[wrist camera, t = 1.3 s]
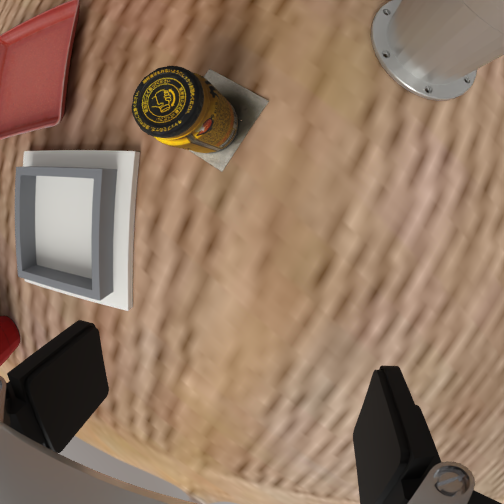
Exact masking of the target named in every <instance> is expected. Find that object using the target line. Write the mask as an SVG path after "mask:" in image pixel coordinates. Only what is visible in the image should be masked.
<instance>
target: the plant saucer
mask: <svg viewBox="0 0 504 504" xmlns="http://www.w3.org/2000/svg"><path fill="white" fill-rule="evenodd" d="M79 7H80V3H79V0H70V1H68V2H65V3H63V4H61V5H59V6H56V7H54V8H52V9H49V10H47V11H45V12H43V13H41V14H39V15H37V16H35V17H33V18H31V19H29V20H27V21H25V22H23V23H21V24H19V25H17V26H16V27H14V28H12V29H10V30H8V31H7V32H5V33H3V34H1V35H0V140H1V139H5V138H8V137H12V136H15V135H19V134H23V133H26V132H30V131H34V130H38V129H43V128H47V127H52V126H55V125H57V124H58V123H60V121H61V120H62V118H63V115H64V112H65V102H66V92H67V83H68V75H69V67H70V60H71V54H72V48H73V43H74V37H75V32H76V27H77V22H78V17H79Z"/></svg>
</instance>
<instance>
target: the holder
mask: <svg viewBox="0 0 504 504" xmlns="http://www.w3.org/2000/svg"><path fill="white" fill-rule="evenodd" d="M139 158H140V152H137V151H109V150H49V151H24V159H23V167H16V183H15V238H16V256H17V268H18V277H21V278H24V279H25V281H26V282H29V283H32V284H35V285H38V286H41V287H44V288H48V289H51V290H54V291H57V292H61V293H64V294H67V295H71V296H74V297H78V298H81V299H85V300H88V301H92V302H96V303H99V304H103V305H107V306H111V307H115V308H118V309H122V310H126V311H129V310H130V309H131V308H132V307H133V241H134V220H135V204H136V190H137V179H138V168H139Z"/></svg>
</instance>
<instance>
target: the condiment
mask: <svg viewBox="0 0 504 504" xmlns="http://www.w3.org/2000/svg"><path fill="white" fill-rule="evenodd" d="M268 102H269V101H267V100H265V99H264V98H262V97H260V96H258V95H257V94H255V93H253V92H251V91H249V90H248V89H246V88H244V87H242V86H240V85H239V84H237V83H235V82H233V81H231V80H229V79H227V78H226V77H224V76H222V75H220V74H218V73H216V72H214V71H212V70H210V69H209V70H208V72H207V73H206V74H205V76H204V77H203V76H201V75H198V74H196V73H192V72H190V71H189V70H186V69H185V68H182V67H178V66H167V67H162V68H158V69H156V70H155V71H153V72H152V73H150V74H149V75H148V76H146V77H145V78H144V79H143V80H142V81H141V83H140V84H139V86H138V87H137V89H136V91H135V93H134V96H133V104H132V113H133V116H134V118H135V121H136V122H137V124H138V125H139V127H140V128H141V129H142V131H144V132H146V133H147V134H148V135H151V136H153V137H155V138H156V139H157V140H158V141H160V142H161V143H164V144H166V145H169V146H173V147H178V148H183V149H187V150H189V151H191V152H192V153H194V154H195V155H197V156H199V157H200V158H202V159H203V160H205V161H206V162H208V163H210V164H211V165H213V166H214V167H216V168H217V169H219V170H220V171H223V170H224V168H225V166H226V165H227V163H228V162H229V160H230V159H231V157H232V156H233V154H234V153H235V151H236V150H237V148H238V147H239V145H240V143H241V142H242V141H243V139H244V137H245V136H246V134H247V133H248V131H249V130H250V128H251V127H252V125H253V124H254V122H255V121H256V120H257V118H258V117H259V115H260V114H261V112H262V110H263V109H264V108H265V106H266V105H267V103H268ZM240 120H242V121H240Z"/></svg>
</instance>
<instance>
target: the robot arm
mask: <svg viewBox="0 0 504 504" xmlns="http://www.w3.org/2000/svg"><path fill="white" fill-rule="evenodd" d="M385 14H386V15H385ZM371 40H372V45H373V49H374V51H375V54H376V56H377V58H378V60H379V62H380V63H381V65H382V67H383V68H384V69H385V70H386V72H387V73H388V74H389V75H390V76H391V77H392V78H393V79H394V80H395V81H396V82H397V83H398V84H399V85H401V86H402V87H404V88H405V89H406V90H408V91H410V92H412V93H414V94H415V95H417V96H420V97H423V98H426V99H430V100H436V101H443V100H450V99H454V98H456V97H458V96H460V95H462V94H464V93H465V92H466V91H467V90H469V88H470V87H471V86H472V84H473V82H474V80H475V77H476V72H477V69H478V68H480V67H482V66H484V65H486V64H488V63H489V62H491V61H493V60H495V59H497V58H499V57H500V56H502V55H504V0H392V1H389V2H387V3H386V4H385V5H383V6H382V7H381V8H380V9H379V11H378V12H377V13H376V15H375V17H374V19H373V23H372V26H371ZM383 55H385V56H386V58H385V57H384V56H383ZM425 90H427V92H428V93H427V92H426V91H425ZM7 375H8V378H9V380H10V381H9V382H8V383H6V381H5V379H4V378H3V377H1V376H0V504H197V503H193V502H189V501H185V500H181V499H177V498H173V497H170V496H166V495H162V494H159V493H156V492H153V491H149V490H146V489H143V488H140V487H137V486H134V485H132V484H129V483H126V482H123V481H120V480H118V479H115V478H112V477H110V476H107V475H105V474H102V473H100V472H98V471H95V470H93V469H90V468H88V467H85V466H83V465H81V464H79V463H77V462H75V461H72V460H70V459H68V458H66V457H64V456H62V455H60V454H58V453H60V452H61V451H62V450H63V449H64V448H65V446H66V445H67V444H68V443H69V442H70V440H71V439H72V438H73V437H74V436H75V434H76V433H77V432H78V431H79V429H80V428H81V427H82V426H83V425H84V423H85V422H86V421H87V420H88V419H89V417H90V416H91V415H92V414H93V413H94V411H95V410H96V409H97V408H98V406H99V405H100V404H101V403H102V402H103V400H104V399H105V398H106V397H107V395H108V392H109V387H108V382H107V377H106V372H105V366H104V361H103V355H102V349H101V342H100V336H99V331H98V329H97V328H96V327H95V325H94V324H93V323H89V322H85V321H82V320H79V321H77V322H75V323H74V324H73V325H71V326H70V327H69V328H67V329H66V330H64V331H63V332H62V333H60V334H59V335H58V336H56V337H55V338H54V339H52V340H51V341H50V342H48V343H47V344H45V345H44V346H43V347H41V348H40V349H39V350H37V351H36V352H35V353H33V354H32V355H31V356H30V357H28V358H27V359H26V360H24V361H23V362H22V363H20V364H19V365H18V366H16V367H15V368H14V369H13V370H11V371H10V372H9V373H7ZM353 442H354V450H355V458H356V466H357V475H358V485H359V495H360V504H502V503H499V502H497V501H495V500H493V499H491V498H489V497H486V496H484V495H482V494H480V493H478V492H476V491H474V486H475V480H474V476H473V474H472V472H471V471H470V470H469V469H468V468H467V467H465V466H464V465H462V464H460V463H456V462H442V463H441V460H440V457H439V455H438V452H437V449H436V447H435V444H434V441H433V439H432V436H431V434H430V431H429V428H428V426H427V423H426V421H425V418H424V416H423V414H422V411H421V409H420V407H419V406H417V405H415V403H414V401H413V399H412V396H411V394H410V391H409V389H408V387H407V384H406V382H405V379H404V377H403V375H402V372H401V370H400V368H399V367H398V366H381V367H380V369H379V370H375V371H374V372H373V375H372V378H371V382H370V385H369V388H368V391H367V394H366V397H365V400H364V403H363V406H362V409H361V412H360V415H359V417H358V420H357V423H356V426H355V429H354V433H353Z"/></svg>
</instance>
